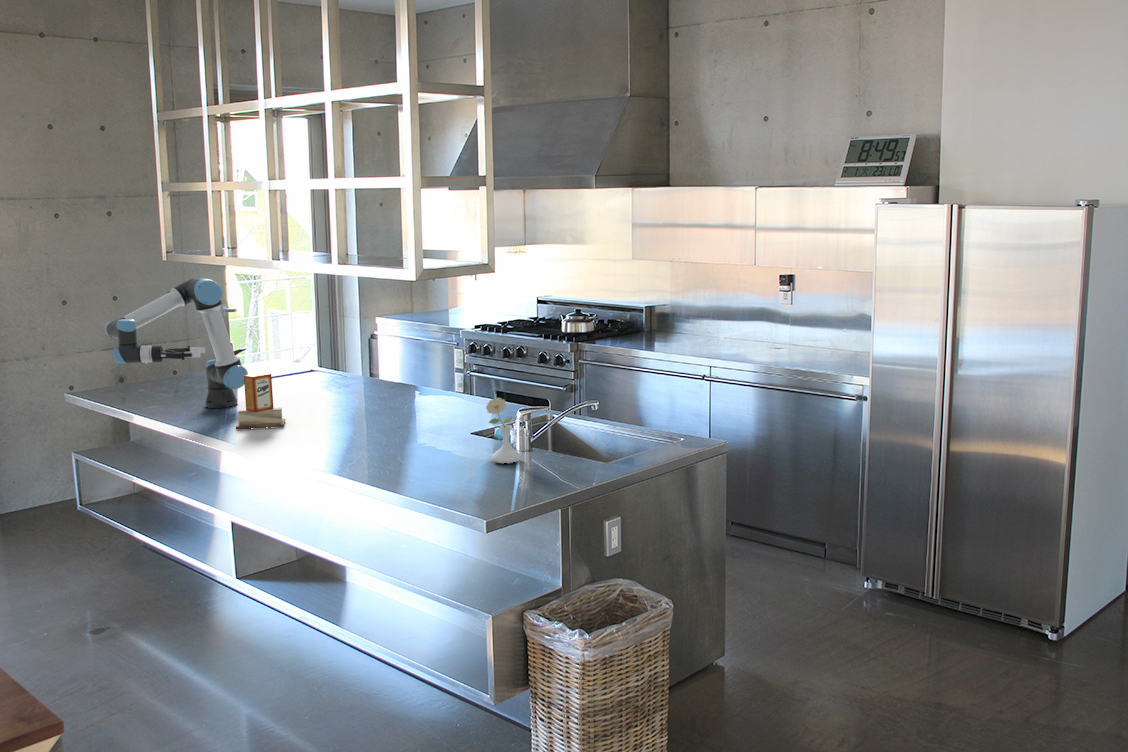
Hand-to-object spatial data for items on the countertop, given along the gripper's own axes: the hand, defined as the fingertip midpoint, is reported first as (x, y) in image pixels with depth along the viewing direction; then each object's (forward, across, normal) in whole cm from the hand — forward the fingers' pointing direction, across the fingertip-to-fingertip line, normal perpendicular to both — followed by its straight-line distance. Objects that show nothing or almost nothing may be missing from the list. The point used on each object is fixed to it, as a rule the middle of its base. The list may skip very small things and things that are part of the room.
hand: (202, 352), depth 422 cm
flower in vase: (+122, +100, -32) cm, 161 cm away
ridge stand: (+25, +15, -32) cm, 43 cm away
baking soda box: (+25, +15, -25) cm, 38 cm away
